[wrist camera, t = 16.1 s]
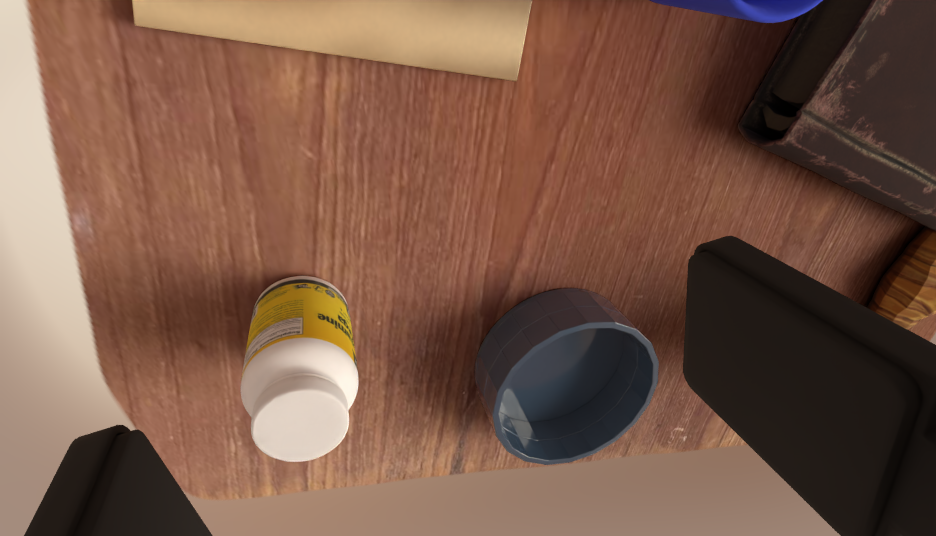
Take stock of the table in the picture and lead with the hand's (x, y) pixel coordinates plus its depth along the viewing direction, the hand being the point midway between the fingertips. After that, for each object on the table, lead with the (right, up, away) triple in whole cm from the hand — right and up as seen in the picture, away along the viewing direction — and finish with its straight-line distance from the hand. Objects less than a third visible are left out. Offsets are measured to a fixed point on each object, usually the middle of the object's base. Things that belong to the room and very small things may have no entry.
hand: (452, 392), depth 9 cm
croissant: (+41, +1, +42) cm, 59 cm away
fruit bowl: (+7, -5, +35) cm, 36 cm away
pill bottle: (-11, -1, +27) cm, 29 cm away
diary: (+34, +17, +31) cm, 49 cm away
